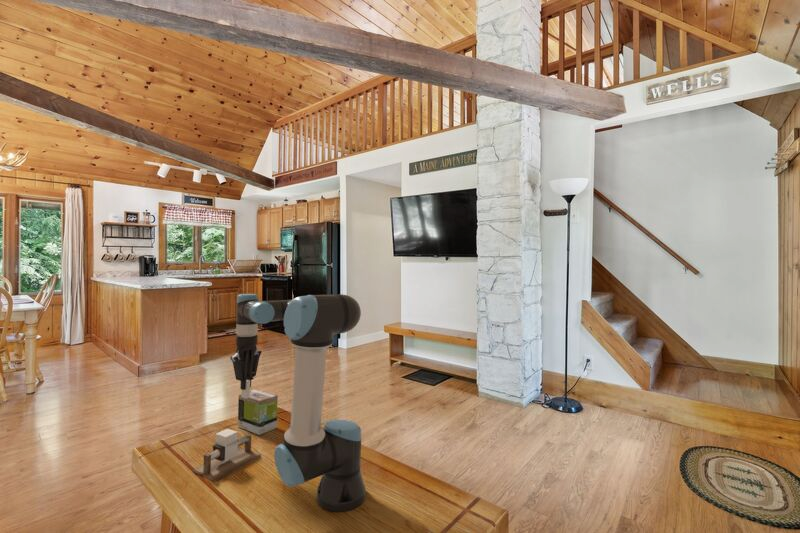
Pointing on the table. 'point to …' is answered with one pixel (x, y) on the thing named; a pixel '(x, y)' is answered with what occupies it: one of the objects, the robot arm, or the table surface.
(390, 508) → the table surface
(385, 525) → the table surface
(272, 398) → the tea box
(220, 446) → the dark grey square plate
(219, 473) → the board
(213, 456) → the pipe
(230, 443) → the sleeve
